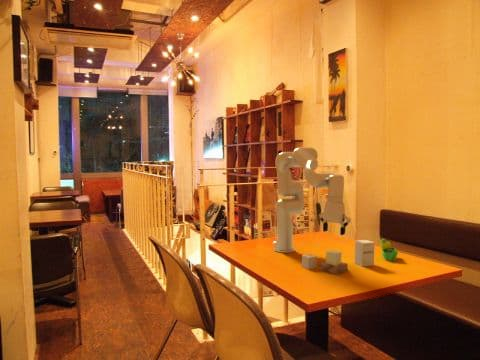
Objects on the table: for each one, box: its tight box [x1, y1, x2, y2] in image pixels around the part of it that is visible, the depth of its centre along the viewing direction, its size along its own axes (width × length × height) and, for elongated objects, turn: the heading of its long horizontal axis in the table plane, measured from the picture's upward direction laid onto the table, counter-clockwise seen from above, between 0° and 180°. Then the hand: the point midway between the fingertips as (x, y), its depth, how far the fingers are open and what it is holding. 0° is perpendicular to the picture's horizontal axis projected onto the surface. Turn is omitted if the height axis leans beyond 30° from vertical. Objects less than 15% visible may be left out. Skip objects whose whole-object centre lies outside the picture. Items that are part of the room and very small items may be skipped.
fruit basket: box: [379, 238, 399, 262], centre depth 215 cm, size 11×9×11 cm
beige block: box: [325, 249, 342, 266], centre depth 191 cm, size 6×6×6 cm
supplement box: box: [354, 239, 375, 268], centre depth 202 cm, size 7×7×13 cm
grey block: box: [301, 253, 318, 270], centre depth 197 cm, size 6×6×6 cm
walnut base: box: [319, 261, 349, 276], centre depth 192 cm, size 10×10×4 cm
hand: (333, 232), depth 191 cm, fingers open, 9 cm apart
